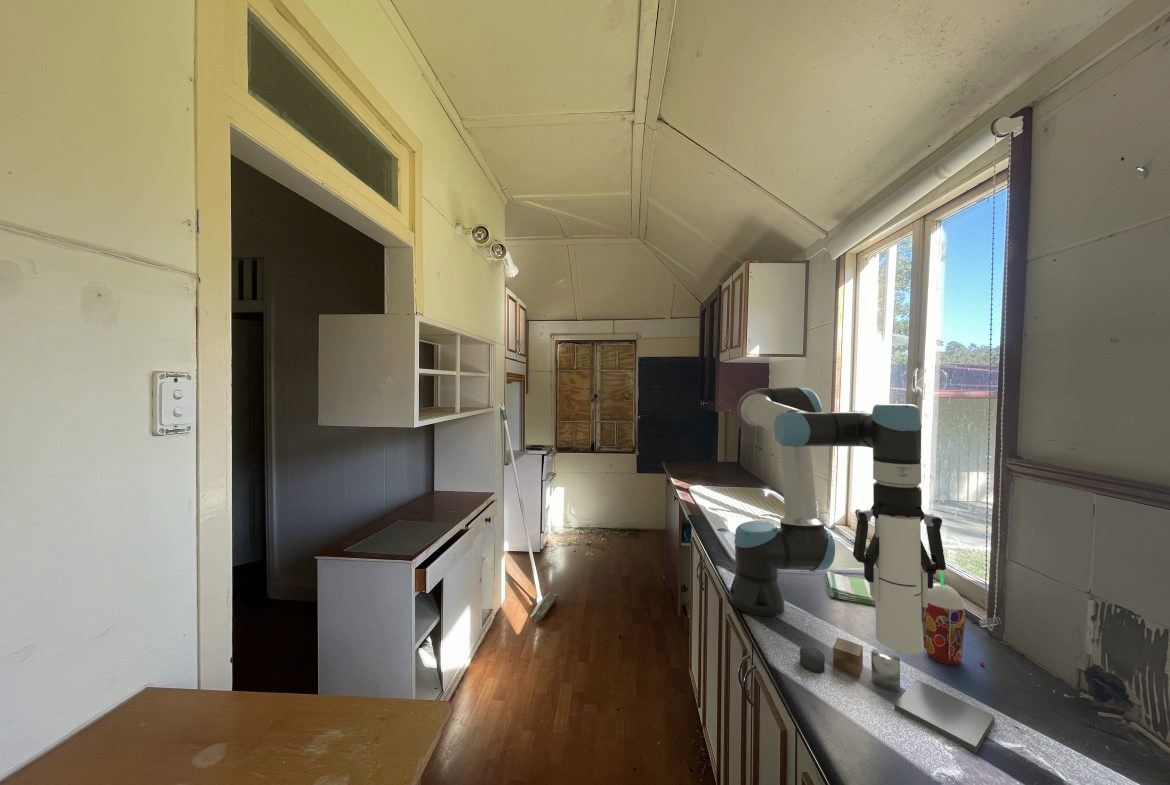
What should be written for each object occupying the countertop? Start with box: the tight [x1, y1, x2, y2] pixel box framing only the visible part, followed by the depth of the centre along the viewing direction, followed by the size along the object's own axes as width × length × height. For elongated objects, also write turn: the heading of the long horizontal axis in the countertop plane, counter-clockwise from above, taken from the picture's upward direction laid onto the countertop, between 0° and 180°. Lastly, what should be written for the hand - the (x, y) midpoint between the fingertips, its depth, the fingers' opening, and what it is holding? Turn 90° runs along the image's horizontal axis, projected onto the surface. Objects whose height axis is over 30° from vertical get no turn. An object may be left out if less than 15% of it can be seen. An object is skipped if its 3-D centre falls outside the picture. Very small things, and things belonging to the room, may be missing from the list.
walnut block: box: [832, 636, 864, 679], centre depth 94 cm, size 5×5×5 cm
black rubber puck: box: [799, 646, 826, 674], centre depth 95 cm, size 5×5×3 cm
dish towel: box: [824, 570, 876, 607], centre depth 128 cm, size 17×23×4 cm
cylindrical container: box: [874, 514, 923, 655], centre depth 81 cm, size 7×7×25 cm
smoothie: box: [921, 571, 967, 666], centre depth 98 cm, size 8×8×20 cm
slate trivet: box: [893, 679, 996, 754], centre depth 80 cm, size 12×12×1 cm
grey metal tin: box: [870, 648, 901, 693], centre depth 89 cm, size 5×5×6 cm
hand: (897, 600), depth 81 cm, fingers closed on cylindrical container, 7 cm apart
